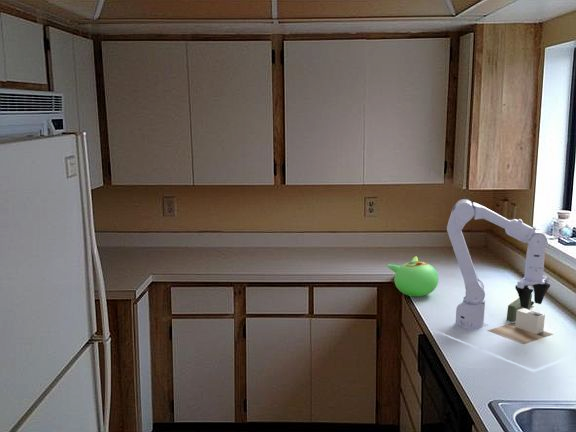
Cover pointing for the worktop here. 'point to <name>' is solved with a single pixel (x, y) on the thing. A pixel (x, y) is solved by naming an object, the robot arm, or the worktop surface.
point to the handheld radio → (514, 307)
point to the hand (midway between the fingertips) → (531, 305)
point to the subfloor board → (518, 333)
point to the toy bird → (415, 278)
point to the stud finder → (530, 321)
